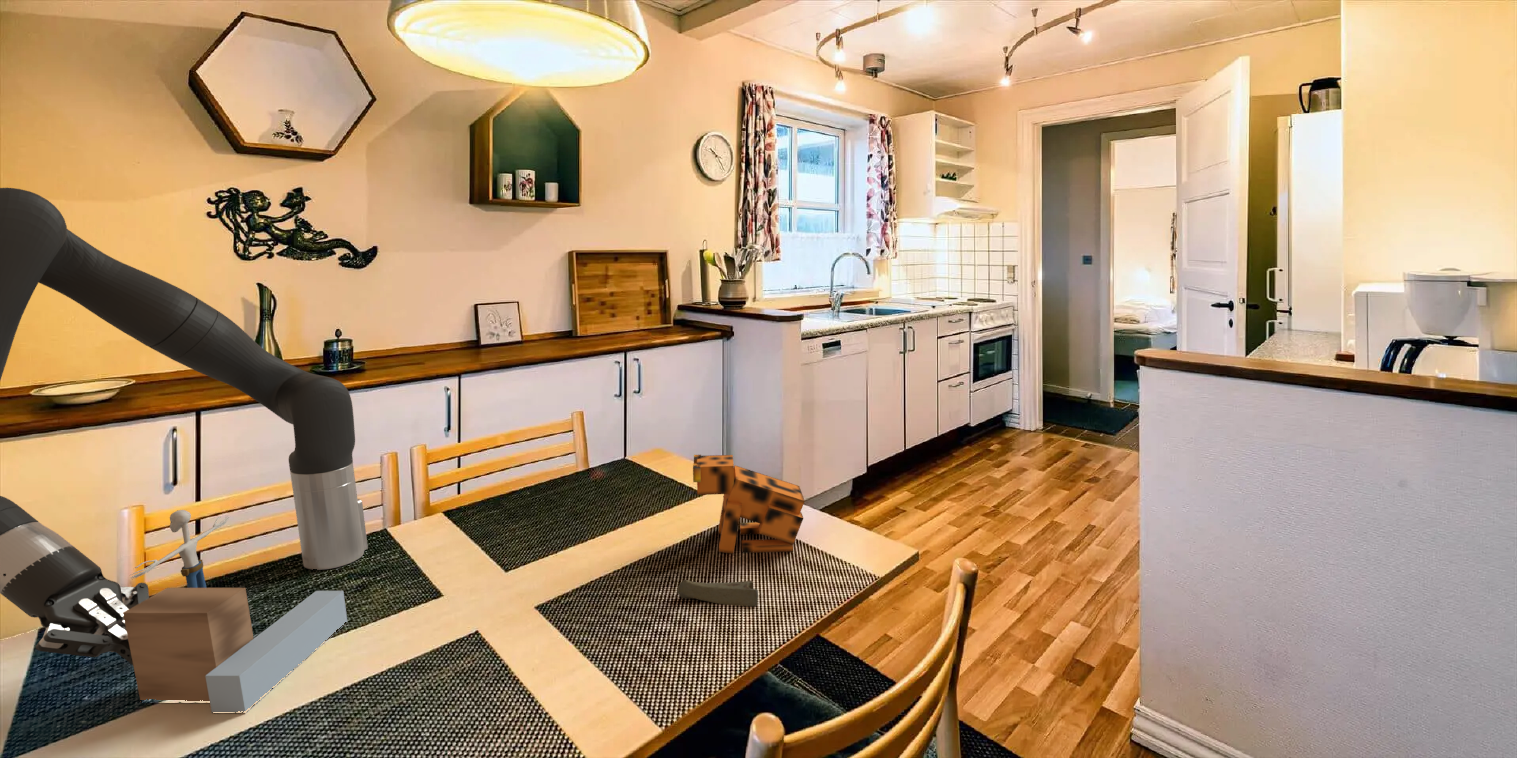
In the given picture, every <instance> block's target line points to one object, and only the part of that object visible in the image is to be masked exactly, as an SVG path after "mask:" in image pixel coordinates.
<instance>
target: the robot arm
mask: <svg viewBox="0 0 1517 758" xmlns="http://www.w3.org/2000/svg"><path fill="white" fill-rule="evenodd" d="M38 284H41V285H43V286H45V287H48V288H49V289H51V290H54V292H55V291H56V292H57V293H60V294H62V295H63V296H64V297H65V296H66V297H67V298H69V299H70V300H72V301H74V302H75V303H76V304H78V305H81V306H82V307H83V308H85V309H87V310H88V311H89V312H91V313H92V314H94V315H95V316H97V317H98V318H100V319H102V320H103V321H104V322H106V323H108V324H110V325H112V326H113V327H114V328H116V329H118V330H119V331H121V332H122V333H124V334H126V335H128V336H129V337H131V338H133V339H135V340H136V341H138V342H140V343H141V344H143V345H144V346H147V347H148V348H150V349H152V350H154V351H155V352H158V353H159V354H161V355H164V356H165V357H166V358H169V359H170V360H172V361H174V362H176V363H179V364H181V365H182V366H185V367H187V368H190V369H191V370H193V371H196V372H198V373H200V374H202V375H205V376H206V377H209V378H212V379H215V380H216V381H219V382H222V383H224V384H227V385H229V386H230V387H231V386H232V387H233V388H235V389H237V390H239V391H240V392H242V393H244V394H245V395H247V396H249V397H250V398H251V399H253V400H254V401H256V402H258V403H259V404H261V405H262V406H263V407H265V408H266V409H268V410H269V411H271V412H272V413H273V414H275V415H276V416H277V417H279V418H281V420H283V421H285V422H286V423H289V424H291V425H292V427H293V433H294V434H293V435H294V444H295V445H294V450H293V451H292V452H291V453H290V454H289V456H288V466H289V473H290V480H291V487H292V494H293V501H294V507H295V508H294V509H295V515H296V522H297V529H298V535H299V536H298V537H299V543H300V551H301V557H302V558H301V559H302V565H303V567H304V568H306V569H308V570H313V569H317V571H321V570H322V571H323V570H329V569H335V568H340V567H342V566H346V565H348V564H351V563H353V562H355V561H357V560H358V559H360V558H362V556H363V555H364V554H365V550H368V549H369V546H368V540H367V539H368V537H367V531H366V529H367V528H366V521H365V513H364V507H363V506H364V505H363V500H362V499H360V498H358V493H357V483H356V477H355V468H354V461H353V460H354V459H353V452H354V449H355V447H356V446H355V445H356V433H355V432H356V431H355V419H354V417H355V416H354V408H353V407H354V406H353V401H352V397H351V394H350V392H349V389H348V388H347V387H346V386H345V385H344V383H342V381H340V380H337V379H335V378H333V377H330V376H329V377H328V376H324V375H319V374H316V373H312V372H308V371H305V370H303V369H302V368H299V367H297V366H295V365H292V364H291V363H289V362H287V361H284V360H283V359H281V358H279V357H277V356H275V355H273V354H272V353H270V352H269V351H267V350H265V348H263V347H262V346H261V345H259V344H258V343H257V342H256V341H255V339H253V338H252V337H251V336H250V335H249V334H248V333H246V332H245V330H243V329H242V328H241V326H239V325H238V324H237V323H235V322H234V321H233V320H232V319H231V318H229V317H228V316H226V315H225V314H223V313H222V312H221V311H218V310H217V309H216V308H215V307H213V306H211V305H209V304H208V303H206V302H204V301H203V300H201V299H200V298H198V297H196V296H194V295H193V294H191V293H189V292H187V291H186V290H184V289H182V288H180V287H178V286H176V285H173V284H172V283H169V282H167V281H166V280H163V279H162V278H159V277H156V276H155V275H152V274H150V273H148V272H145V271H142V270H140V269H138V268H136V267H133V266H131V265H129V264H126V263H124V262H122V261H119V260H117V259H116V258H114V257H111V256H110V255H107V254H106V253H104V252H103V251H101V250H99V248H98V249H97V248H96V247H94V246H93V245H92V244H90V243H89V242H87V241H85V240H84V239H83V238H82V237H80V236H78V235H76V233H74V232H73V231H71V230H70V229H68V228H67V223H66V220H65V218H64V216H63V215H62V213H61V211H60V210H59V209H58V207H56V205H55V204H53V203H52V202H51V201H49V200H48V199H46V198H44V197H43V196H41V195H39V194H37V193H35V192H32V191H29V190H26V189H21V188H13V187H0V381H1V379H2V377H3V373H4V370H5V368H6V364H7V362H8V358H9V355H10V352H11V348H12V346H13V343H14V339H15V336H16V333H17V330H18V327H19V325H20V322H21V319H22V316H23V314H24V313H25V311H26V308H27V306H28V304H29V302H30V299H31V298H32V296H33V294H34V292H35V290H36V288H37V286H38ZM0 594H1V595H2V596H3V597H4V598H6V599H7V601H9V602H11V603H12V604H13V605H14V606H15V607H17V608H18V609H20V610H21V611H22V612H24V613H25V614H26V615H27V616H28V617H31V618H36V619H37V618H38V619H39V622H40V625H41V627H43V628H44V629H45V631H44V633H43V636H42V638H41V639H40V640H39V641H38V642H37V644H36V645H35V649H36V650H37V651H38V652H43V653H44V652H45V653H52V654H53V653H54V654H63V655H71V656H78V657H79V656H82V657H88V658H97V657H100V655H101V654H105V653H108V652H110V653H116V654H118V655H119V656H120V657H121V658H123V659H124V660H126V662H128V663H129V664H130V665H131V666H133V661H132V656H131V651H130V646H129V641H128V636H127V631H126V626H125V621H124V616H123V612H125V611H127V610H129V609H131V608H132V607H134V606H136V605H138V604H139V603H141V602H143V601H145V600H146V599H148V598H150V594H149V586H148V584H147V583H146V582H139V583H137V584H136V585H135V586H121V585H120V584H119V583H118V582H117V581H114V580H110V579H108V578H106V577H105V576H104V574H103V572H102V569H101V567H100V566H99V565H98V564H96V563H95V562H94V560H93V561H92V560H91V559H90V558H89V557H87V555H86V554H84V553H83V552H82V551H80V550H79V549H77V547H75V546H74V545H72V544H71V543H70V542H69V541H68V540H66V539H65V538H64V537H63V536H62V535H60V534H59V533H57V532H56V531H54V530H52V529H50V528H49V527H47V526H45V525H44V524H42V523H41V522H39V520H37V519H36V518H35V517H33V515H31V514H30V513H28V512H27V511H26V510H25V509H23V508H22V507H21V506H20V505H18V504H17V503H15V502H14V501H12V500H11V499H9V498H7V497H5V496H2V495H0Z"/></svg>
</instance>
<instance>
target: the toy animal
mask: <svg viewBox="0 0 1517 758" xmlns="http://www.w3.org/2000/svg"><path fill="white" fill-rule="evenodd" d="M734 464H735V463H734V456H733V454H721V455H720V454H715V455H702V454H694V455H693V464H692V477H693V478H692V483H696V486H697V487H696V489H697V490H696V491H697V493H696V494H697V496H703V495H704V496H706V495H723V499H722V505H721V511H720V515H719V523H718V534H719V535H720V536H719V542H718V552H719V553H725V554H734V552H735V548H736V547H735V546H736V540H737V536H738V528H739V532H740V536H742V535H743V536H744V535H745V536H748V535H762V536H764V537H768V538H763V539H761V538H760V539H741V551H742V554H748V553H749V554H750V553H751V554H753V553H754V554H755V553H757V554H758V553H782V552H794V544H795V540H796V538H797V535H798V533H799V531H800V529H801V526H802V523H803V520H804V515H803V513H802V512H801V511H802V508H803V507H804V504H805V501H806V500H805V498H804V496H803V492H802V490H801V486H800V485H798V484H794V483H791V482H788V481H784V480H782V479H779V478H777V477H773V476H769V475H766V474H763V473H760V472H758V471H754V470H751V469H748V468H745V467H742V466H738V465H736V464H735V465H734ZM740 519H745V520H748V521H751V522H740Z"/></svg>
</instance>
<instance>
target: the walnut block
mask: <svg viewBox="0 0 1517 758" xmlns="http://www.w3.org/2000/svg"><path fill="white" fill-rule="evenodd" d="M250 613H251V612H250V607H249V602H248V594H247V589H246V587H206V588H187V587H167V588H164V589H163V590H161V591H159V592H157V593H156V594H154V595H152V596H149V598H148V599H146V600H145V601H143V602H141V603H139V604H138V605H136V606H134V607H132V608H131V609H129V610H127V611H125V612H123V616H124V621H125V626H126V628H125V629H126V631H127V636H128V641H129V646H130V651H131V656H132V661H133V665H132V666H133V672H134V675H135V680H136V686H137V691H138V695H139V700H146V699H148V700H149V699H154V700H155V699H156V700H185V701H186V700H187V701H200V700H201V701H202V700H203V701H210V699H209V694H208V688H207V682H206V677H205V676H206V675H207V674H208V673H209V672H211V671H212V670H213V669H215V668H216V667H217V666H219V665H220V664H221V663H223V662H224V661H225V660H226V659H228V658H229V657H230V656H232V655H233V654H234V653H236V652H237V651H238V650H240V649H241V648H242V647H243V646H245V645H246V644H247V643H249V642H250V641H251V640H253V639H254V638H255V637H254V634H253V626H252V621H251V620H252V619H251V616H250V615H251V614H250Z"/></svg>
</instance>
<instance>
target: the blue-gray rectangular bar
mask: <svg viewBox="0 0 1517 758" xmlns="http://www.w3.org/2000/svg"><path fill="white" fill-rule="evenodd" d="M344 593H345V592H344V590H315V591H314V592H313V593H312V594H310V595H309V596H307V597H306V598H305V599H304V600H302V601H300V603H299V604H297V605H296V606H295V607H293V608H292V609H290V610H289V611H288V612H287V613H285V614H283V615H282V616H281V617H280V618H278V619H277V620H276V621H275V622H273V623H271V625H270V626H268V627H267V628H266V629H264V630H263V631H262V632H260V633H259V634H258V635H257V636H255V637H253V638H254V639H253V640H251V641H250V642H249V643H247V644H246V645H245V646H243V647H242V648H241V649H240V650H238V651H237V652H236V653H234V654H233V655H232V656H230V657H229V658H228V659H226V660H225V661H224V662H223V663H221V664H220V665H219V666H217V667H216V668H215V669H213V670H212V671H211V672H209V673H208V674H207V675H206V676H205V677H206V682H207V688H208V694H209V699H210V704H209V705H210V710H211V713H212V712H238V711H240V712H241V711H243V712H244V711H246V710H247V709H248V708H250V707H251V706H252V705H253V704H254V703H255V702H256V701H258V700H259V699H260V697H262V696H263V695H264V694H265V693H267V692H268V691H269V690H270V689H272V687H273V686H275V685H276V684H277V683H278V682H279V681H280V680H281V679H282V678H284V677H285V676H286V675H287V674H288V673H289V672H290V671H292V670H293V669H294V668H295V667H297V666H298V664H300V663H301V664H302V663H303V662H302V661H303V660H304V659H306V658H307V657H308V656H309V655H310V654H311V653H312V652H314V651H315V649H316V648H318V647H319V646H320V645H321V644H322V643H323V642H324V641H325V640H327V639H328V638H329V637H330V636H331V635H332V634H333V633H334V632H336V630H337V629H339V628H340V627H341V626H342V625H344V623H345V622H347V623H348V616H347V615H348V614H347V609H346V608H347V607H346V602H345V594H344ZM344 626H345V625H344ZM342 627H343V626H342ZM342 627H341V628H342ZM341 628H340V629H341ZM340 629H339V630H340ZM336 633H337V632H336ZM332 636H333V635H332ZM332 636H331V637H332ZM331 637H330V638H331ZM330 638H329V639H330ZM329 639H328V640H329ZM328 640H327V641H328ZM322 645H323V644H322ZM322 645H321V646H322ZM321 646H320V647H321ZM320 647H319V648H320ZM319 648H318V649H319ZM315 652H316V651H315ZM312 654H313V653H312ZM312 654H311V655H312ZM311 655H310V656H311ZM310 656H309V657H310ZM309 657H308V658H309ZM308 658H307V659H308ZM307 659H306V660H307ZM301 664H300V665H301ZM298 667H299V666H298ZM298 667H297V668H298ZM293 671H294V670H293ZM293 671H292V672H293ZM272 690H273V689H272Z"/></svg>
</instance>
